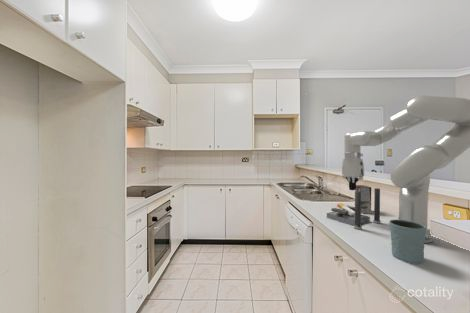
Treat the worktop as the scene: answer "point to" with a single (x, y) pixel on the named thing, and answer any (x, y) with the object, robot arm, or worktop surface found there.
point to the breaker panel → (346, 216)
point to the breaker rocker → (346, 209)
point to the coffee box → (365, 198)
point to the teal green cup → (407, 240)
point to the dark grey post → (377, 206)
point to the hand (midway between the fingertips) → (352, 189)
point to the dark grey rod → (357, 210)
